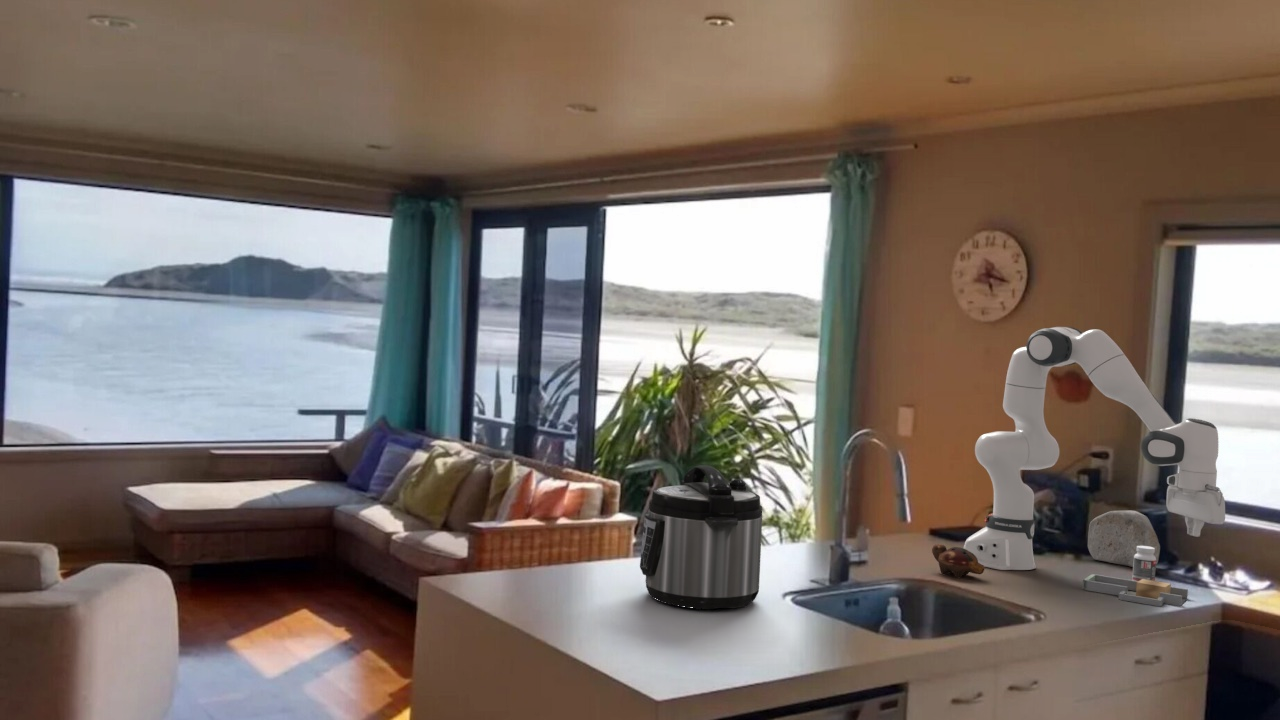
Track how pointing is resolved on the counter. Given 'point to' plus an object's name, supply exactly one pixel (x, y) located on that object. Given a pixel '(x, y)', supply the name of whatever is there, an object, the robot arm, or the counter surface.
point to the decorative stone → (1120, 536)
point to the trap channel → (1122, 585)
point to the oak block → (1151, 588)
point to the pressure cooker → (703, 542)
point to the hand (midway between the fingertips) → (1193, 535)
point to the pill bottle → (1144, 564)
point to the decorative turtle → (956, 560)
